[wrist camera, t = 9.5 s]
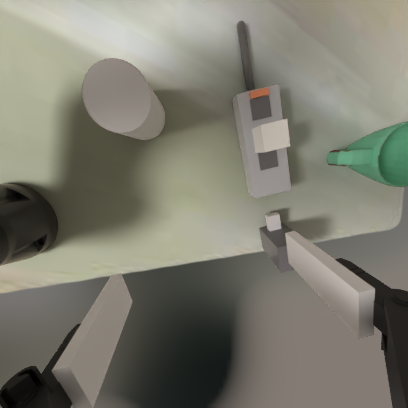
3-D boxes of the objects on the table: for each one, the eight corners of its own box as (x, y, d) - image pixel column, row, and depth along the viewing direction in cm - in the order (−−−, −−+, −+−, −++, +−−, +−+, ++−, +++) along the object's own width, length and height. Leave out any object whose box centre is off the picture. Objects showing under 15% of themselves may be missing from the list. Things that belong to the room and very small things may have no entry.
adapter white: (255, 152, 33) (264, 152, 29) (251, 129, 32) (260, 125, 28) (277, 147, 33) (290, 146, 29) (274, 123, 32) (287, 118, 28)
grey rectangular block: (263, 249, 42) (280, 273, 34) (257, 214, 40) (274, 230, 32) (284, 243, 42) (308, 266, 34) (280, 208, 40) (303, 223, 32)
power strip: (248, 194, 39) (255, 199, 35) (219, 29, 32) (223, 8, 27) (281, 186, 39) (292, 190, 35) (259, 18, 32) (270, -4, 27)
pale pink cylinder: (170, 101, 34) (158, 74, 23) (158, 146, 36) (141, 141, 24) (125, 84, 33) (89, 46, 22) (115, 131, 35) (76, 119, 23)
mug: (382, 127, 37) (448, 117, 28) (374, 177, 40) (432, 184, 30) (309, 132, 37) (350, 124, 27) (306, 182, 39) (342, 191, 30)
